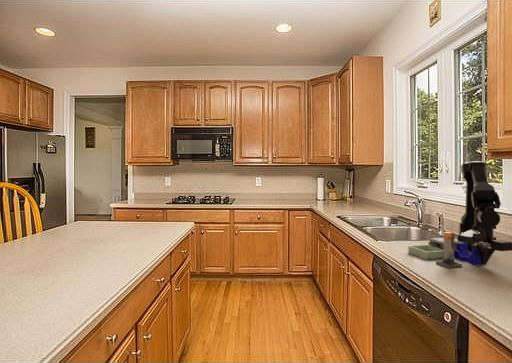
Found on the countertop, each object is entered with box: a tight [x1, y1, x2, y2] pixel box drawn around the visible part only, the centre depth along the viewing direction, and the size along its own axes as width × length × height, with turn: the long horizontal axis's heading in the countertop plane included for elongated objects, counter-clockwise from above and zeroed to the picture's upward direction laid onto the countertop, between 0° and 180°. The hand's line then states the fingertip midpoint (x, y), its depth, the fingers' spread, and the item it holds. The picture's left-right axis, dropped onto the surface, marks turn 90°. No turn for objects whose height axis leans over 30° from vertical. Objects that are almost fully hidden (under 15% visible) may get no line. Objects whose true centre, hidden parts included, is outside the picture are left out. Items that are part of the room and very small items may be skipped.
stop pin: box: [443, 231, 456, 265], centre depth 127 cm, size 4×4×12 cm
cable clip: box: [454, 243, 483, 266], centre depth 133 cm, size 12×4×6 cm, turn 175°
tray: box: [407, 244, 444, 261], centre depth 142 cm, size 9×12×3 cm
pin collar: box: [435, 260, 463, 269], centre depth 127 cm, size 6×6×1 cm
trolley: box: [427, 237, 463, 253], centre depth 145 cm, size 13×12×6 cm
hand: (483, 264), depth 124 cm, fingers closed
